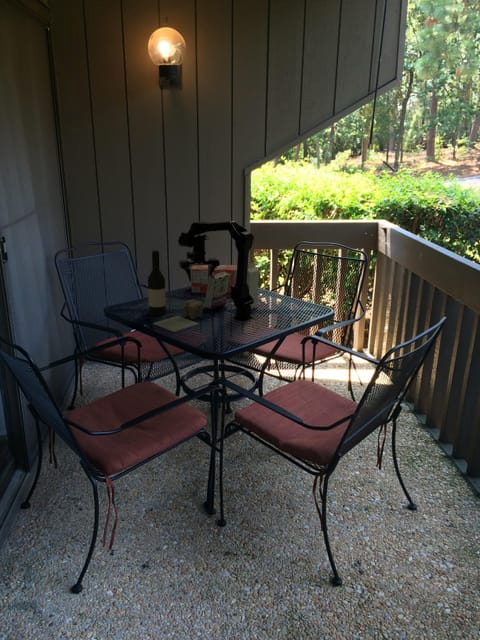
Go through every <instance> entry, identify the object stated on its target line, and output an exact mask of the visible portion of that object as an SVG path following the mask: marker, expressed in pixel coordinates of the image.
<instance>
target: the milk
mask: <svg viewBox="0 0 480 640" xmlns="http://www.w3.org/2000/svg"><path fill="white" fill-rule="evenodd" d="M255 265H256V264H255V263H254V262H253V263H248V271H247V285H248V287H249V294H250V295H251V297H252V298H253V299H254V302H253V304H251V305H250V306H251V310H253V309H252V308H255V309H257V308H258V302H259V300H258V299H259V297H258V296H259V295H258V293H259V273H260V272H259V269H258V268H257V267H256V266H255ZM243 302H244V301H243ZM256 307H257V308H256Z"/></svg>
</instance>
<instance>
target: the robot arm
mask: <svg viewBox="0 0 480 640" xmlns="http://www.w3.org/2000/svg"><path fill="white" fill-rule="evenodd" d="M219 231H220V232H222V231H228V233H229V235H230V237H231V238H232V239H233V241H234V244H235V248H236V250H237V260H236V261H237V264H236V265H237V275H236V284H235V285H234V286H231V293H229V294H230V296H231V299H232V301H233V306H234V307H235V316H233V317H234V318H233V319H236V320H239V321H242V322H246V321H248V320H251V318H252V319H253V318H254V317H253V316H252V309H251V306H250V305H251V304H253V302H254V299H253V298H252V297H251V295H250V294H249V287H248V285H247V271H248V264H249V257H250V255H249V253H250V251H251V249H252V247H253V244H254V240H255V239H254V238H255V237H254V234H253V233H252V232H251V231H249V230H248V229H247V228H245V227H244V226H243V225H241V224H239V223H238V222H237V221H236V220H229V221H221V222H220V221H217V222H209V221H205V220H202V221H201V220H200V221H195V222H192V223H191V225H190V228H189V230H188V231H187V232H186V231H183V232H182V231H181V233H180V236H179V237H178V239H177V241H178V245H179V246H180V247H184V248H192V251H186V253H185V255H186V259H184V260H179V261H178V267H180V269H182V270H183V271H185V273H186V276H187V278H188V281H189V282H190V283H191V274H192V269H191V268H190V267H192V266H196V265H208V280H209V276H210V275H212V273H213V271H214V269H215V268H217V267H216V266H220V265H221V264H220V260H219V259H217V258H216V257H214V258H213V257H211V258H208V260H206V241H208V240H210V238H209V237H208V236H207V234H206V233H209V232H219ZM188 260H190V261H188ZM243 301H244V302H243Z"/></svg>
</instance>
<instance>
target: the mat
mask: <svg viewBox="0 0 480 640" xmlns="http://www.w3.org/2000/svg"><path fill="white" fill-rule="evenodd" d="M152 325H155V326H157V327H160V328H162V329H164V330H167V331H170V332H172V333H176V332H180V331H183V330H186V329H188V328H189V329H190V328H191V327H195V326H199V323H198V322H196V321H192V319H191V320H190V319H187V318H186V317H185V318H184V317H182V316H179V315H176V316H173V317H169V318H166V319H162V320H159V321H156V322H153V324H152Z"/></svg>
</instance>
